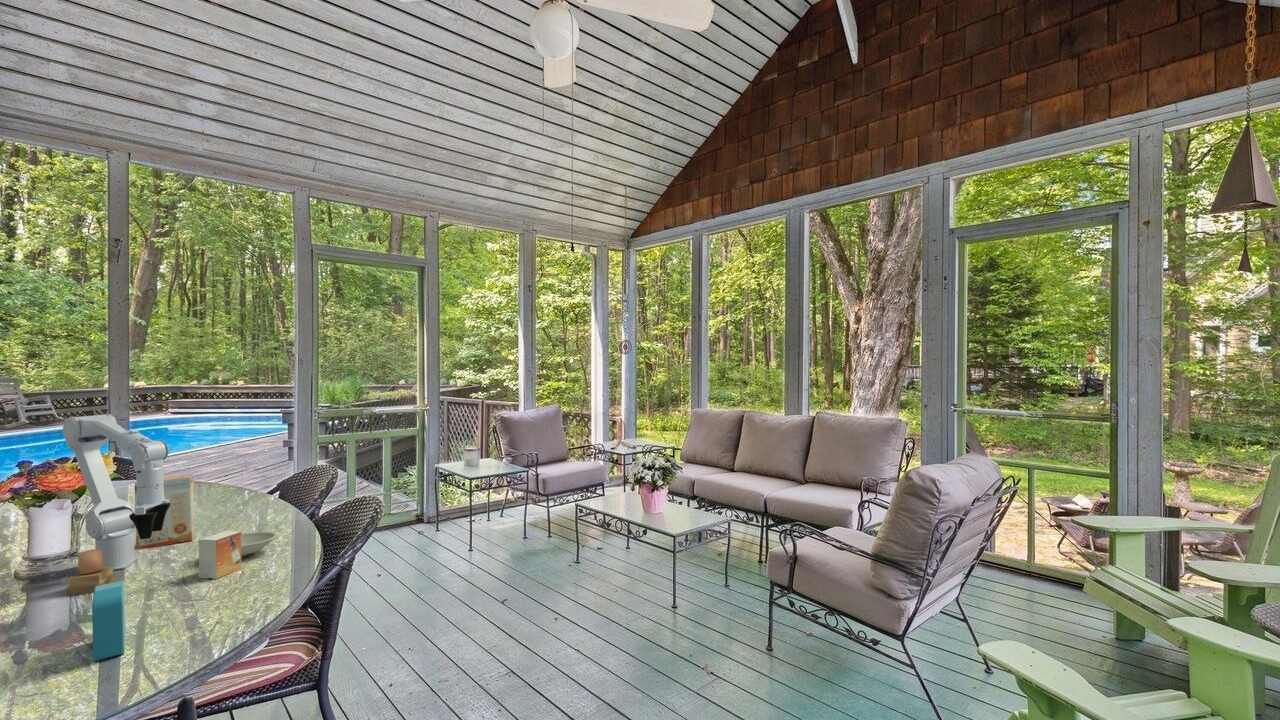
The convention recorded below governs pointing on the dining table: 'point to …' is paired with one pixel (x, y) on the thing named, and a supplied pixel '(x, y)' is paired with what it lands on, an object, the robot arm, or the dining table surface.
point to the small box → (219, 554)
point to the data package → (108, 620)
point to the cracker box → (174, 513)
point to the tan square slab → (87, 588)
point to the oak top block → (91, 577)
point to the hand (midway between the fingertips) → (151, 534)
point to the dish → (255, 541)
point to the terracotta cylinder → (90, 561)
